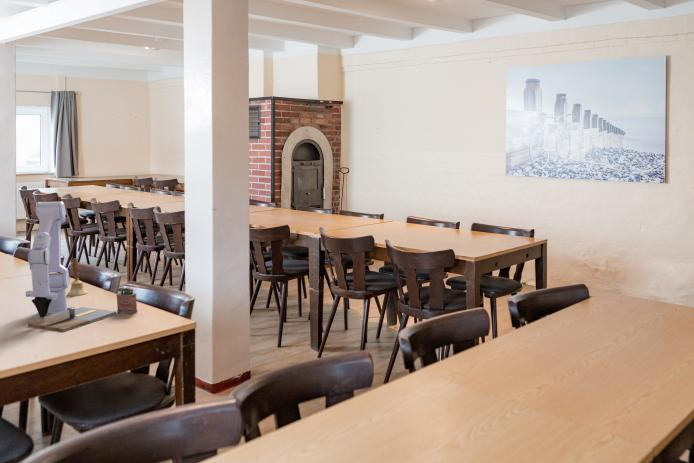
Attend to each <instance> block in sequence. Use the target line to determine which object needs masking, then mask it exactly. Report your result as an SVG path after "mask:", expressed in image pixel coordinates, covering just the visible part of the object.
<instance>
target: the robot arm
mask: <svg viewBox="0 0 694 463" xmlns="http://www.w3.org/2000/svg"><path fill="white" fill-rule="evenodd" d="M35 214H36V217H37V220H39V224H38V232H37V233H35V235H34V238H33V242H32V247H31V250H29V251H28V252H27V262H28V265H29V270H30V271H31V284H32V290H27V291H25V297H26V298H29V297H31V298H33V299H31V302H32V304H33V305H34V307H35V309H36V311H37V314H38V317H39V318H41V319H45V316H47V315H48V314H53V313H57V312H60V311H63V310H67V308H68V304H67V301H68V300H67V291H66V290H67V289H68V288H69V287H70V284H71V281H70V280H71V279H70V273H69V270H68V268H67V267H65V266H64V265H62V255H61V254H62V253H61V252H62V251H61V250H62V249H61V248H62V247H61V246H62V245H61V242H62V238H61V233H62V232H61V228H62V224H63V223H65V222H66V205H65V203H64V201H62V200H60V201H38V202H36V204H35Z"/></svg>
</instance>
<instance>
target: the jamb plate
mask: <svg viewBox="0 0 694 463" xmlns="http://www.w3.org/2000/svg"><path fill="white" fill-rule="evenodd" d="M89 324H90V323H89V320H81V319H74V318H67V319H64V320H61V321H58V322H55V323H52V324H49V325H48V324H45V318H41V319H38V320H36V321H33V322H29V323H28V324H27V326H28V327H29V328H30V327H31V328H36V329H37V328H38V329H45V330H50V331H57V332H64V333H65V332H68V331H70V330H73V329H76V328H80V327H83V326H85V325H89Z"/></svg>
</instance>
